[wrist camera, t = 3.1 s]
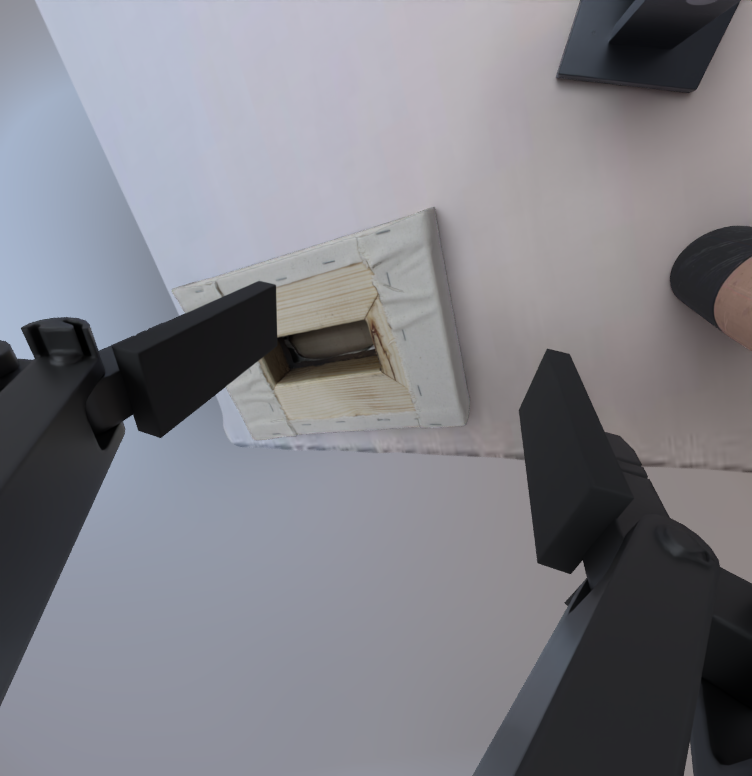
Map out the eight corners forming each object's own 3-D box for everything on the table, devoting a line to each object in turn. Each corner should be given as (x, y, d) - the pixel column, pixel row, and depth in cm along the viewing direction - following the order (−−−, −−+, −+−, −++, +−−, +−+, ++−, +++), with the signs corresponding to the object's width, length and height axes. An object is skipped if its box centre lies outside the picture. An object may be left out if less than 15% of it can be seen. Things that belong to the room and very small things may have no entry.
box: (435, 199, 35) (204, 276, 47) (424, 205, 29) (161, 292, 41) (474, 392, 45) (276, 415, 57) (472, 427, 39) (250, 445, 51)
